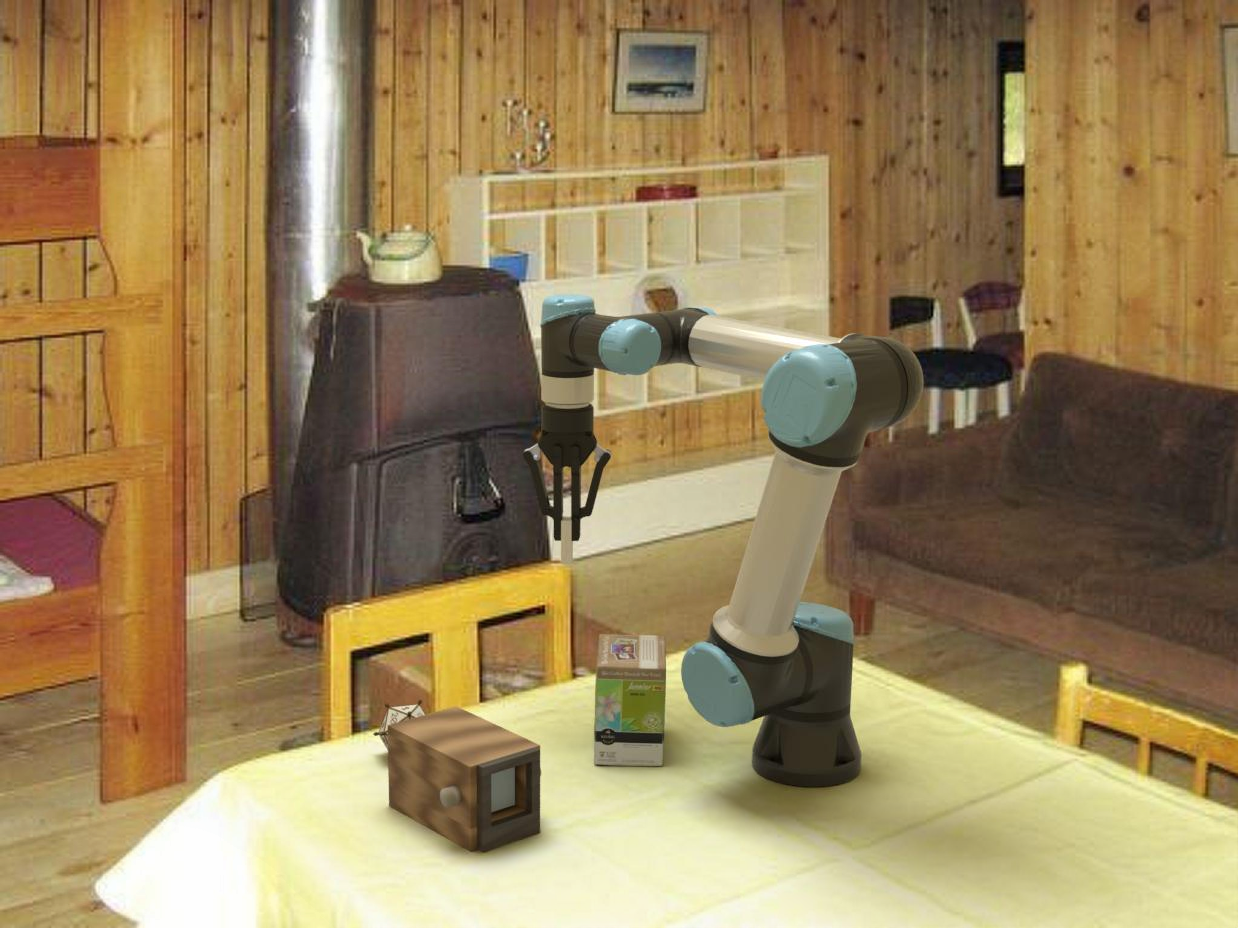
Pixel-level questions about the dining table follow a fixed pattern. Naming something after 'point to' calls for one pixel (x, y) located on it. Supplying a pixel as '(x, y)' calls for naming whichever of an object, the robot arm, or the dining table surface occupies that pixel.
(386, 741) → the game die
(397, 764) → the wooden peg box
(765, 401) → the robot arm
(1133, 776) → the dining table surface
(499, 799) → the peg
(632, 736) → the tea box
